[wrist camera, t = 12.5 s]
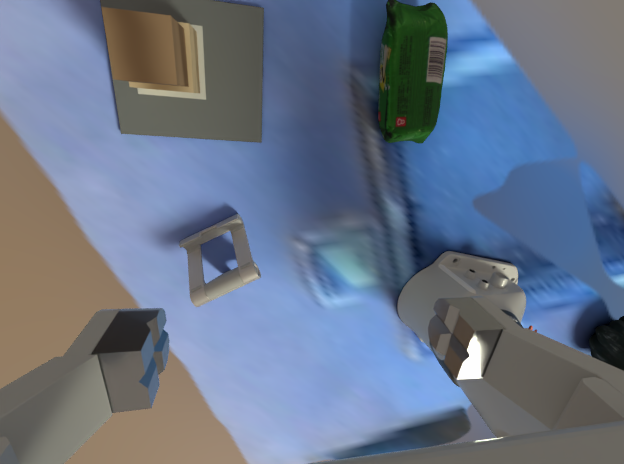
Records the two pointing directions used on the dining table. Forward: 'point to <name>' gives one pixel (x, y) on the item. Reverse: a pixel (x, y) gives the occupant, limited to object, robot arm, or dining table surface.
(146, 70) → the walnut cube
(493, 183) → the dining table surface
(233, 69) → the mat
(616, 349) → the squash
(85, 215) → the dining table surface
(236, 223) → the portable electronic device stand
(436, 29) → the snack package
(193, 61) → the oak base block
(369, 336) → the dining table surface
